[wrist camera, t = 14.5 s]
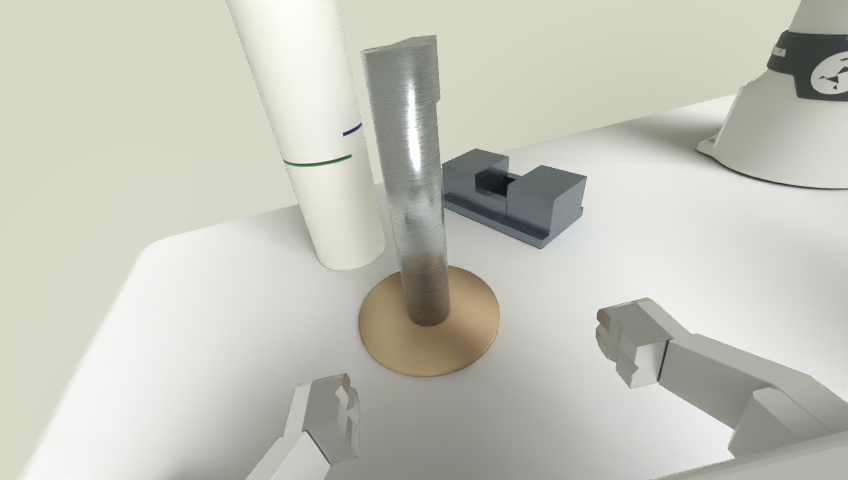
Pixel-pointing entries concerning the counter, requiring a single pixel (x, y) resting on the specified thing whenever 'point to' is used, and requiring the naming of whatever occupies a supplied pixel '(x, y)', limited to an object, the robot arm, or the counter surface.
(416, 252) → the brushed metal post
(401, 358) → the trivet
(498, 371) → the counter surface
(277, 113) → the cylindrical container
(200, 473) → the counter surface
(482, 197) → the vise
